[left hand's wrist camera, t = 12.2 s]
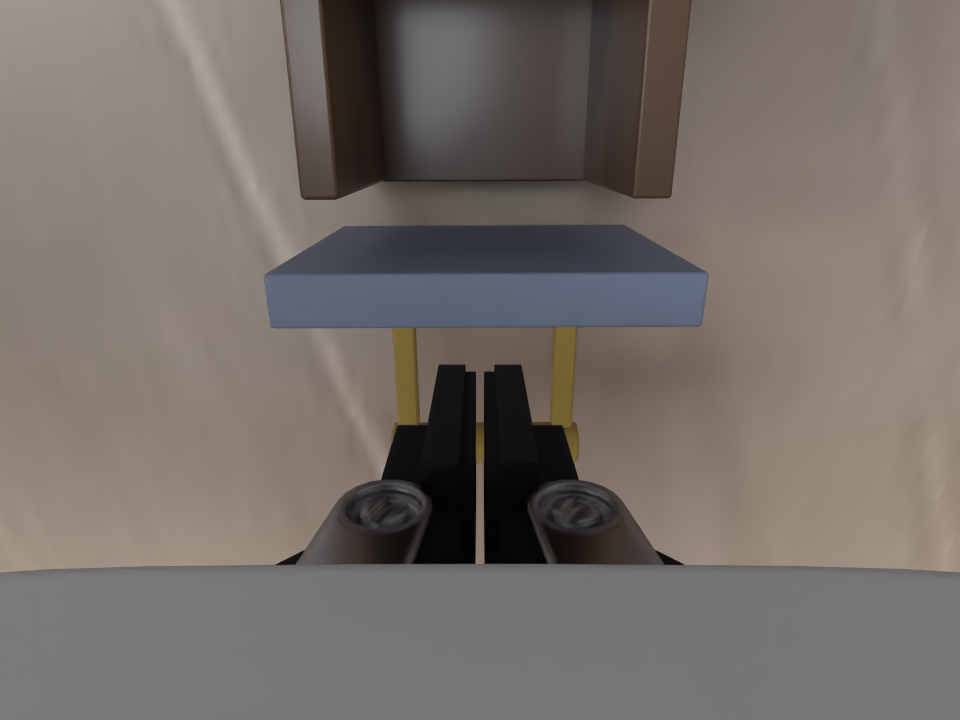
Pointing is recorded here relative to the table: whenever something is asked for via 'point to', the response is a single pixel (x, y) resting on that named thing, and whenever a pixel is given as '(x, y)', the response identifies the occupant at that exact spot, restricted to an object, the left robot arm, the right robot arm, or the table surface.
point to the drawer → (486, 169)
